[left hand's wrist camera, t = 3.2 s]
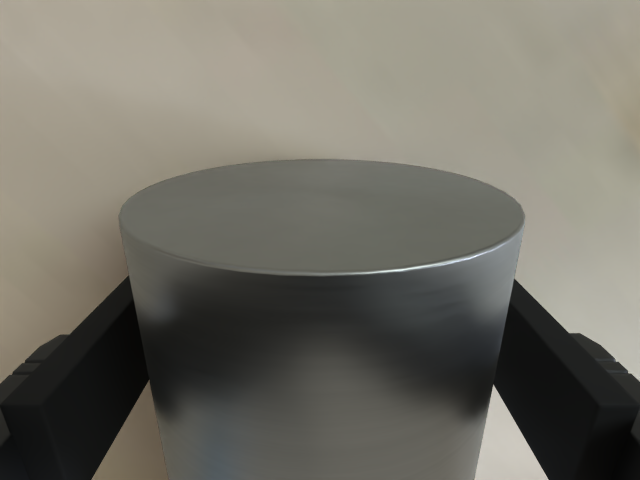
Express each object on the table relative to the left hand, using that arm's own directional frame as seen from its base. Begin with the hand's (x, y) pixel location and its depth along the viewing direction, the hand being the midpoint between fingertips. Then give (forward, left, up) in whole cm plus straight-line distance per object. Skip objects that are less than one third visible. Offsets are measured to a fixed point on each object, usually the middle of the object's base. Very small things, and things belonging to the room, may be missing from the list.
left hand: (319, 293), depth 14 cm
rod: (+4, +6, -1) cm, 7 cm away
